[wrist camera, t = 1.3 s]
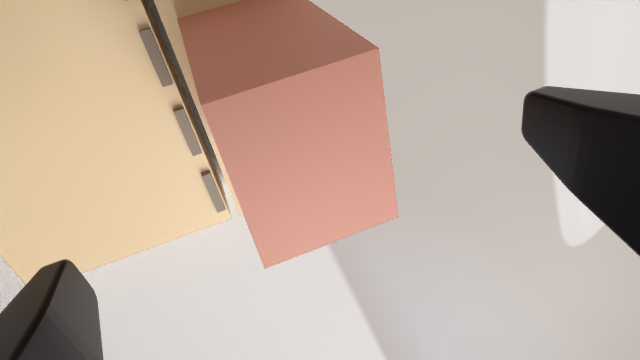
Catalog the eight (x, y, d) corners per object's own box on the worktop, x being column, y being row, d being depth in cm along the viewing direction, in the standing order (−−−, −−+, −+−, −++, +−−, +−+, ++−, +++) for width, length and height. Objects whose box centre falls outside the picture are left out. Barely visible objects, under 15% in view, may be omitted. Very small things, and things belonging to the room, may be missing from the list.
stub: (321, 148, 19) (421, 294, 12) (229, 180, 18) (280, 353, 11) (255, -142, 13) (380, -172, 6) (115, -108, 12) (84, -101, 6)
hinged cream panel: (221, 183, 18) (232, 221, 16) (44, 246, 17) (30, 295, 15) (104, -106, 12) (97, -104, 10) (-180, -37, 11) (-253, -20, 9)
